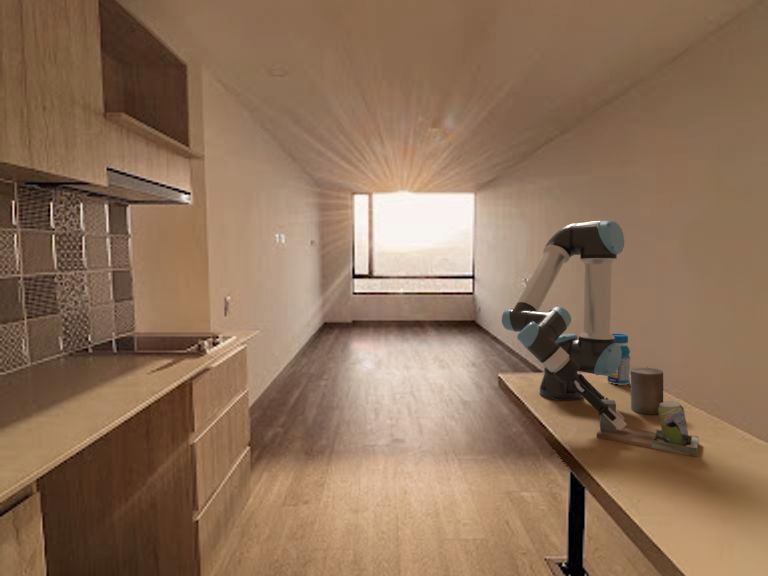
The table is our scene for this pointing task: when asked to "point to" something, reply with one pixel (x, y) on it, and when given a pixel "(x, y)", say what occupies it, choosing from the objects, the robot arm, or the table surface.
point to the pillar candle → (646, 390)
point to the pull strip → (642, 436)
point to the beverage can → (673, 423)
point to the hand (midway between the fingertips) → (622, 424)
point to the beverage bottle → (622, 362)
